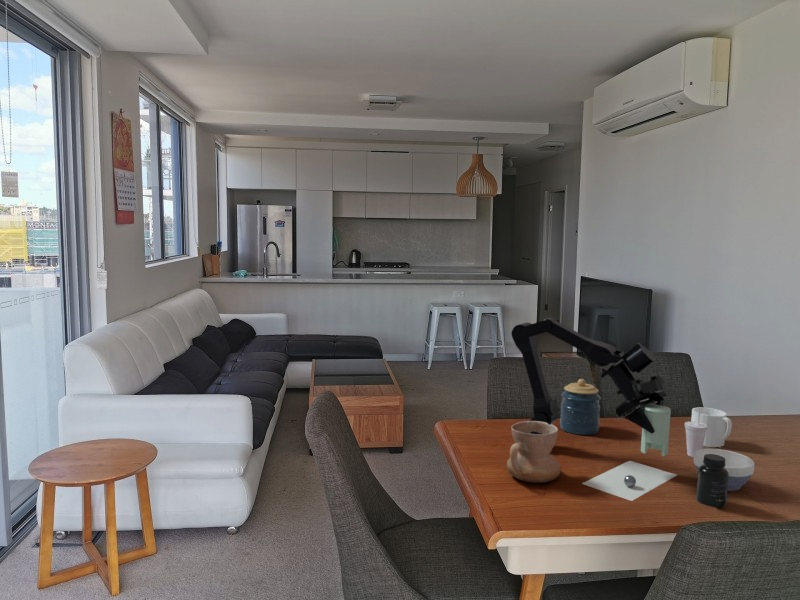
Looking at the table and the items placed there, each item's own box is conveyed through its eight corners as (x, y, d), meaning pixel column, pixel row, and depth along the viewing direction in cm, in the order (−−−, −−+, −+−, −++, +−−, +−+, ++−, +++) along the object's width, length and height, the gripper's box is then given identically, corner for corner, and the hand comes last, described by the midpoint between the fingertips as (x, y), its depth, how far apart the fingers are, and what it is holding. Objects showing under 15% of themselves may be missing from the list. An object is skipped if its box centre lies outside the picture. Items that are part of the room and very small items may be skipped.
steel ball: (623, 487, 162) (624, 476, 162) (623, 483, 165) (624, 472, 165) (635, 489, 161) (636, 478, 161) (635, 485, 164) (636, 474, 164)
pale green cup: (640, 454, 169) (643, 409, 168) (640, 446, 176) (643, 403, 174) (668, 458, 167) (671, 413, 165) (667, 449, 173) (670, 406, 172)
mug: (683, 440, 203) (685, 409, 202) (702, 435, 208) (704, 406, 207) (719, 452, 192) (721, 420, 191) (738, 447, 197) (741, 416, 196)
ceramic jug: (533, 462, 181) (534, 415, 179) (574, 478, 169) (575, 427, 168) (489, 477, 170) (490, 427, 168) (530, 495, 158) (531, 441, 157)
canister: (599, 437, 204) (602, 385, 202) (558, 433, 208) (561, 381, 206) (598, 425, 217) (601, 376, 215) (560, 422, 220) (562, 373, 218)
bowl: (751, 501, 157) (753, 472, 156) (688, 487, 165) (690, 460, 164) (753, 482, 169) (756, 455, 168) (695, 470, 177) (697, 444, 176)
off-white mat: (631, 502, 155) (631, 500, 155) (581, 485, 165) (581, 483, 165) (677, 476, 172) (677, 474, 172) (629, 462, 182) (629, 460, 182)
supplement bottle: (690, 497, 158) (693, 452, 157) (715, 497, 159) (719, 451, 158) (705, 509, 152) (709, 462, 150) (732, 509, 152) (736, 461, 151)
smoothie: (708, 460, 185) (711, 414, 184) (685, 458, 187) (688, 412, 185) (702, 452, 192) (705, 408, 190) (680, 450, 193) (683, 406, 191)
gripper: (627, 370, 166) (664, 421, 159) (663, 362, 178) (698, 409, 170) (600, 393, 173) (634, 442, 166) (636, 383, 185) (669, 429, 177)
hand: (660, 430), depth 170 cm, fingers closed on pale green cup, 7 cm apart
